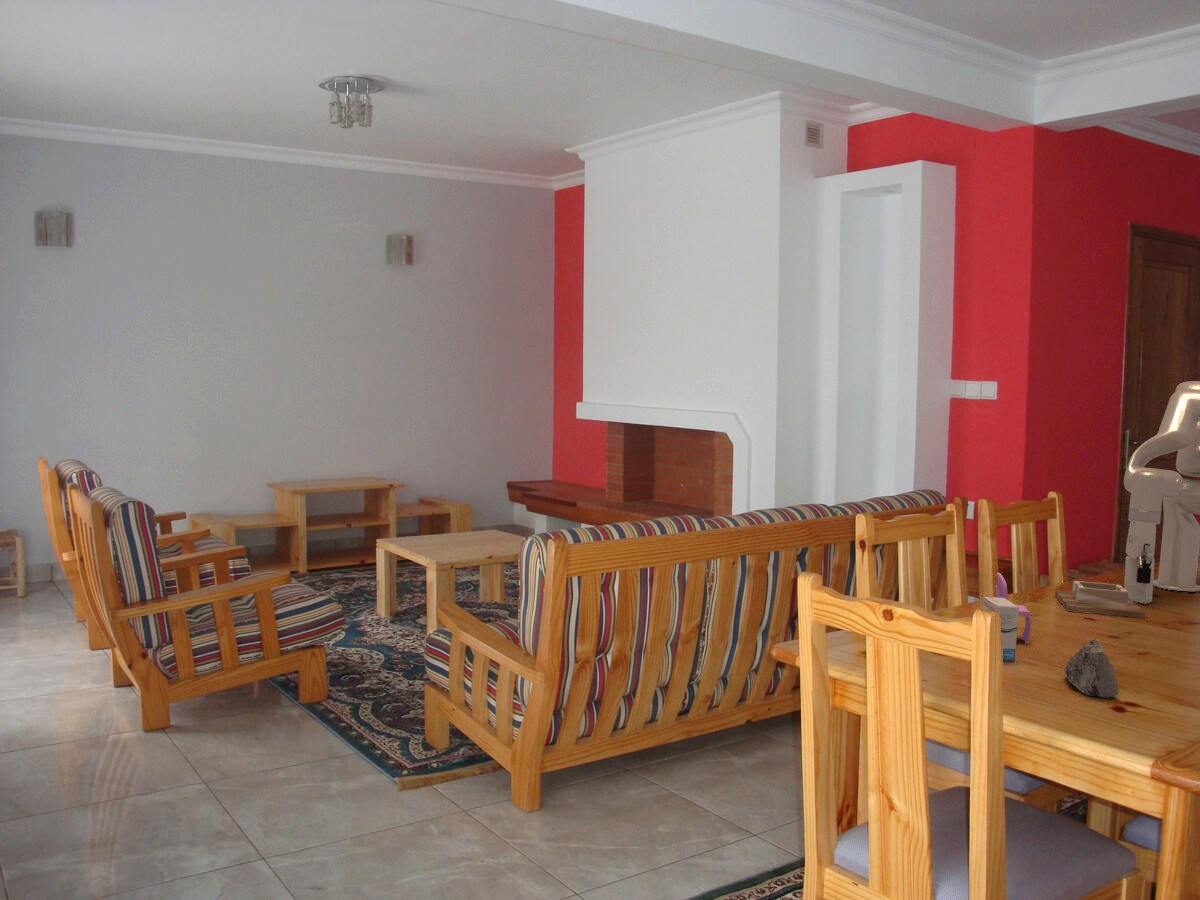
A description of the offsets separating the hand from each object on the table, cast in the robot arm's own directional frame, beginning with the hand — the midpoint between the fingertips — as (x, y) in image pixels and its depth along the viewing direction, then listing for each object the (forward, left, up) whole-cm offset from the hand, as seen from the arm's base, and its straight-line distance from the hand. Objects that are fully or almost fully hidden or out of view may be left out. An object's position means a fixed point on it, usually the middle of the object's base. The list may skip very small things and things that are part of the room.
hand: (1138, 579), depth 278 cm
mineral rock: (+88, -29, -6) cm, 92 cm away
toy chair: (+56, -40, -6) cm, 69 cm away
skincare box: (0, 0, -6) cm, 6 cm away
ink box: (+71, -44, -6) cm, 83 cm away
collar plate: (+12, -12, -6) cm, 18 cm away
